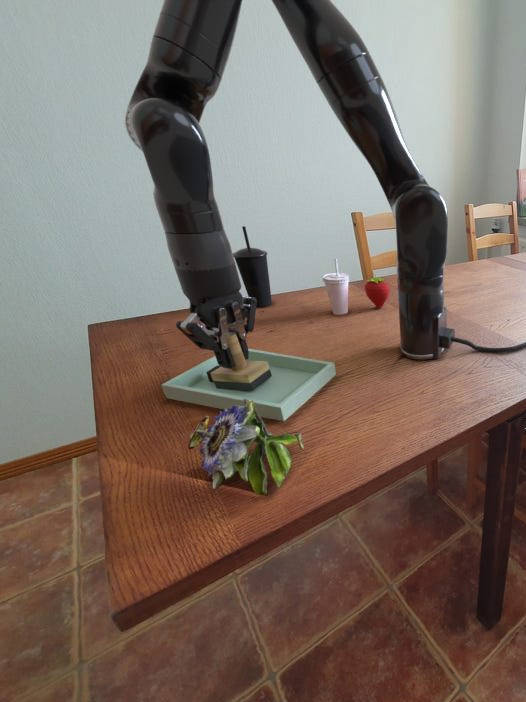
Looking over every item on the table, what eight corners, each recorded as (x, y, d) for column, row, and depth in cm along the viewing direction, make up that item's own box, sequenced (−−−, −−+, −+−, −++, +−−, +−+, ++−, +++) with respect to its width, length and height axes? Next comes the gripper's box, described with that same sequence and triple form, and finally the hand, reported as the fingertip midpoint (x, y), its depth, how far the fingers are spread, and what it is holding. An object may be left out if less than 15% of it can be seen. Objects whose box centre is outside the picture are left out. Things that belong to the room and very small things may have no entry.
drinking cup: (284, 303, 102) (268, 226, 93) (259, 311, 96) (239, 230, 86) (264, 297, 105) (247, 223, 95) (239, 305, 99) (217, 226, 89)
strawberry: (377, 314, 98) (374, 277, 93) (361, 307, 102) (357, 271, 98) (396, 309, 102) (394, 273, 97) (379, 302, 106) (376, 267, 102)
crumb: (232, 376, 67) (229, 367, 66) (222, 383, 65) (219, 374, 64) (220, 374, 67) (217, 365, 66) (209, 382, 65) (205, 372, 64)
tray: (336, 378, 70) (334, 362, 68) (284, 425, 57) (280, 407, 56) (237, 360, 74) (232, 345, 72) (167, 401, 61) (160, 384, 59)
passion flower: (232, 507, 50) (178, 433, 48) (307, 457, 56) (262, 389, 54) (233, 523, 41) (167, 432, 39) (323, 461, 47) (270, 380, 45)
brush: (272, 376, 67) (256, 329, 63) (253, 390, 62) (235, 342, 58) (237, 374, 68) (220, 328, 64) (216, 388, 64) (196, 340, 59)
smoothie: (345, 318, 95) (338, 263, 88) (322, 315, 96) (313, 260, 89) (357, 309, 101) (351, 257, 94) (335, 306, 102) (328, 254, 95)
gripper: (183, 276, 49) (221, 387, 57) (260, 254, 61) (282, 348, 69) (136, 270, 50) (180, 380, 58) (221, 249, 62) (247, 343, 70)
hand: (235, 362), depth 64 cm, fingers closed on brush, 2 cm apart
